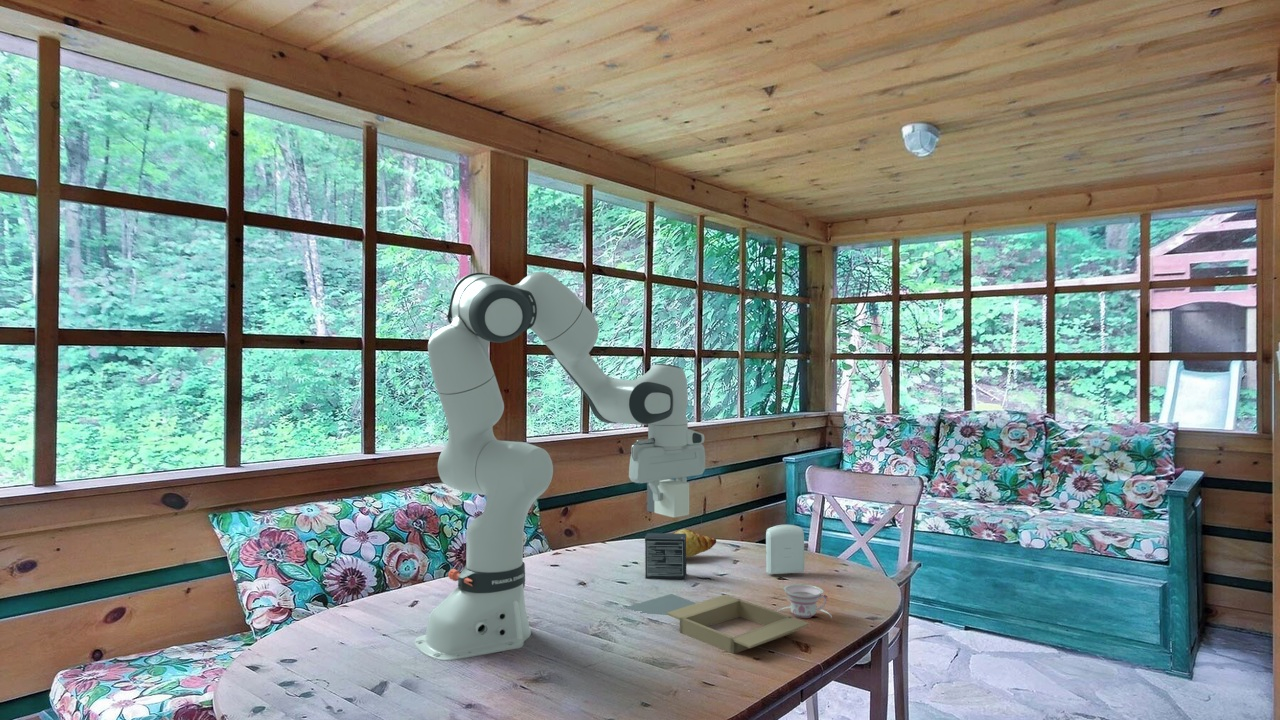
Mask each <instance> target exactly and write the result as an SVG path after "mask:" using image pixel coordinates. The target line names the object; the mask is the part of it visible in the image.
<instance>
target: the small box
mask: <svg viewBox="0 0 1280 720" xmlns="http://www.w3.org/2000/svg"><path fill="white" fill-rule="evenodd" d="M644 546H645V547H644V549H645V550H644V552H645V553H644V556H645V558H644V561H645V564H644V565H645V566H644V567H645V574H644V578H645V580H653V579H654V580H655V579H656V580H658V579H659V580H686V579H687V557H686V534H674V533H670V532H669V533H664V532H663V533H658V532H656V533H654V532H647V533H646V535H645V537H644Z"/></svg>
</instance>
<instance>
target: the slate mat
mask: <svg viewBox="0 0 1280 720" xmlns="http://www.w3.org/2000/svg"><path fill="white" fill-rule="evenodd" d="M696 603H697V602H695V601H693V600H690V599H688V598H684V597H681V596H679V595H676V594H673V593H670V594H666V595H663V596H659V597H657V598H656V597H655V598H652V599H649V600H646V601H642V602H638V603H635V604H631V605H628V606H625V607H626V608H625V609H628V610H630V609H631V611H633V610H634V611H633V612H636V611H642V612H640V613H639V614H643V613H647V614H646V615H661V616H667V615H666V613H667V612H670V611H673V610H677V609H680V608H683V607H686V606H690V605H693V604H696Z"/></svg>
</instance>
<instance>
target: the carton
mask: <svg viewBox="0 0 1280 720" xmlns="http://www.w3.org/2000/svg"><path fill="white" fill-rule="evenodd" d="M695 603H696V604H693V605H690V606H686V607H683V608H680V609H677V610H673V611H670V612H667V613H666V615H665V616H668V617H672V618H674V619H675V620H676V619H677V620H679V633H680V634H681V635H684V636H686V635H687V637H689V638H693V639H694V640H696V641H700V642H702V643H705V644H707V645H710V646H711V647H715V648H718V649H721V650H722V651H725V652H728V653H730V654H733V655H734V654H738V653H740V652H743V651H746V650H749V649H752V648H755V647H757V646H760V645H764V644H766V643H768V642H772V641H775V640H778V639H780V638H783V637H786V636H789V635H792V634H794V632H796V631H798V630H800V629H804V628H805V627H808V626H810V622H809V621H808V622H807V621H804V620H802V619H799V618H797V617H794V616H793V617H792V616H790V615H787V614H785V613H781V612H780V611H778V612H777V611H776V610H773V609H770V608H766V607H763V606H761V605H759V604H758V605H757V604H755V603H752V602H749V601H747V600H743V599H740V598H737V597H734V596H732V595H728V594H722V595H719V596H715V597H713V598H709V599H706V600H702V601H699V602H695ZM737 618H741V619H745V620H748V621H750V622H753V623H757V624H760V625H763V626H760V627H757V628H755V629H752V630H750V631H747V632H743V633H741V634H739V635H736V636H732V635H729V634H726V633H724V632H722V631H719V630H716V629H715V628H714V629H713V628H712V627H710V626H714V625H717V624H720V623H723V622H727V621H730V620H734V619H737Z"/></svg>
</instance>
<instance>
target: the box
mask: <svg viewBox="0 0 1280 720" xmlns="http://www.w3.org/2000/svg"><path fill="white" fill-rule="evenodd" d="M658 488H659V491H660V492H662V493H663V500H661V501H654V500H653V492H652V490H651V489H650V487H649V482H647V483H646V496H647V497H646V512H650V513H653V514H658V515H661V516H665V517H668V518H669V517H670V518H680V517H683V516H684V517H686V516H689V515H690V482H688V481H687V482H681V481H676V479H668V480H661V481H660V485H659V486H658Z"/></svg>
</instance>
